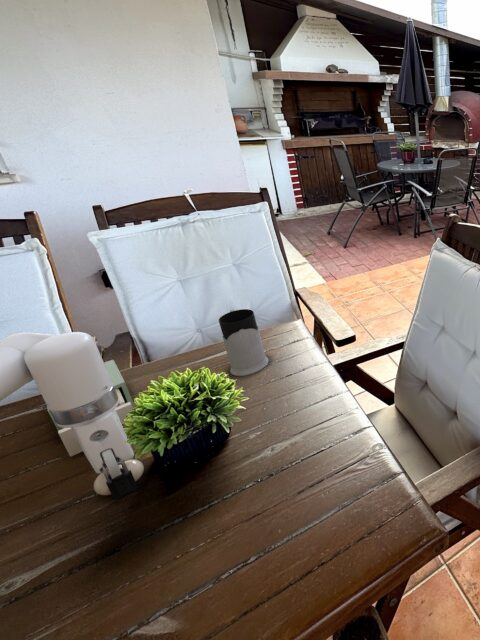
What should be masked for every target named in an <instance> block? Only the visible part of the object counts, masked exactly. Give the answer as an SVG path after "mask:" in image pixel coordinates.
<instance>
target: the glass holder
mask: <svg viewBox="0 0 480 640" xmlns="http://www.w3.org/2000/svg"><path fill="white" fill-rule="evenodd" d="M218 323H219V327H220V329H221V330H220V331H221V334H222V340H223V344H224V346H225V350H226V355H227V358H228V360H229V365H230V370H229V371H230V374H231V375H233V376H237V377H243V376H244V377H245V376H249V375H251V374H254V373H255V374H256V373H257V372H259V371H261V370H262V369H264V368H265V367H266V366H267V365H268V364H269V358H268V357H267V355H266V351H265V349H264V345H263V341H262V336H261V333H260V330H259V326H258V325H257V320H256V315H255V313H254V311H253V310H252V309H250V308H249V309H248V308H243V309H235V310H234V309H233V308H232V309H229V312H227V313H224V314H223V315H221V316H220V317H219V318H218Z"/></svg>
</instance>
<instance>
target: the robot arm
mask: <svg viewBox="0 0 480 640" xmlns="http://www.w3.org/2000/svg"><path fill="white" fill-rule="evenodd" d="M33 381H34V383H35V385H36V387H37V389H38V391H39V393H40V395H41V396H42V399H43V401H44V403H45V405H46V408H47V407H48V408H49V411H50V412H51V414H52V416H53V418H54V420H55V422H56V424H57V426H58V427H61V428H71V429H72V431H73V433H74V435H75V437H76V439H77V441H78V443H79V445H80V447H81V448H82V450H83V451H82V452H83V454H84V455H85V457H86V459H87V461H88V462H89V464H90V466H91V467H92V469H93V471H94V472H95V474H98V475H99V474H101V473H102V472H103V473H104V475H105V478H106V480H107V482H106V484H107V486H108V488H109V490H110V492H111V494H110V496H111V497H112V499H113V500H118V499H120V498H122V497H124V496H126V495H128V494H129V493H131V492H134V491H135V490H137V489H138V483H137V481H135V479H134V477H133V474H132V472H131V470H129V471H128V468H127V466H126V464H125V462H124V461H127V460H130V459H134V457H135V452H134V450H133V448H132V445H131V443H130V444H129V443H127V442H126V443H125V441H127V437H128V435H127V434H126V433H125V431H124V429H123V426H122V423H121V421H120V419H119V417H118V415H117V413H116V411H115V408H116V407H117V405H118V404H119V401H120V400H119V397H118V395H117V393H116V390H115V388H114V386H113V383H112V381H111V379H110V376H109V374H108V371H107V369H106V367H105V364H104V359H103V358H102V355H101V353H100V350H99V348H98V346H97V343H96V340H95V339H94V338H93V336H92V335H90V334H89V333H87V332H83V331H82V332H81V331H72V332H71V331H70V332H64V333H60V334H52V333H44V332H43V333H42V332H33V331H23V332H17V333H13V334H9V335H6V336H5V337H2V338H0V402H1V401H3V400H5V399H6V398H7V397H9V396H11V395H12V394H13V393H15V392H17V391H18V390H19V389H21V388H22V387H24V386H25V385H27V384H29V383H32V382H33ZM120 464H121V466H122V468H121V469H120V468H119V466H118V465H120ZM108 470H109V472H108ZM109 473H110V474H109Z"/></svg>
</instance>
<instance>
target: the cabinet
mask: <svg viewBox="0 0 480 640" xmlns="http://www.w3.org/2000/svg"><path fill="white" fill-rule="evenodd" d="M103 362H104V361H103ZM104 364H105V367H106V369H107V371H108V374H109V376H110V379H111V381H112V383H113V386H114V388H115V389H116V388H118V389H119V391H120V393H121V395H122V397H123V399H124V401H125V404H126V403H128V402H130V403H131V405H132V407H133V408H134V406H135V404H134V401H133V398H132V396H131V393H130V391H129V388H128V386H127V384H126V382H125V379H124V377H123V376H122V373H121V372H120V370H119V368H118V365H117V364H116V361H115V360H114V359H111V360H108V361H105V362H104ZM46 409H47V412H48V414H49V416H50V418H51V420H52V422H53V424H54V426H55V429H56V431H57V432H58V431H59V430H61V429H64V428H61V427H58V426H57V424H56V422H55V420H54V418H53V416H52V414H51V412H50V411H49V408H48V407H47V406H46Z"/></svg>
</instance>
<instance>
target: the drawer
mask: <svg viewBox="0 0 480 640" xmlns="http://www.w3.org/2000/svg"><path fill="white" fill-rule="evenodd" d="M115 390H116V393H117V395H118V397H119V400H120V401H119V404H118V405H117V407H116V408H115V411H116V413H117V415H118V417H119V419H120V421H121V423H122V424H123V421H124V419H125V418H126V416H127V414H128V412H129V411H131V410H132V409H133V407H132V405H131V403H130V402H128V403H126V404H125V401H124V399H123V397H122V395H121V393H120V391H119V389H118V388H116V389H115ZM57 433H58V436H59V438H60V439H61V442H62V443H63V445H64V448H65V450H66V451H67V453H68V456H69V457H73V456H75V455H78V454H80V453H82V452H83V450H82V448H81V447H80V445H79V443H78V441H77V439H76V437H75V435H74V433H73V431H72V429H71V428H64V429H61V430H59V431H58V430H57Z"/></svg>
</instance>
